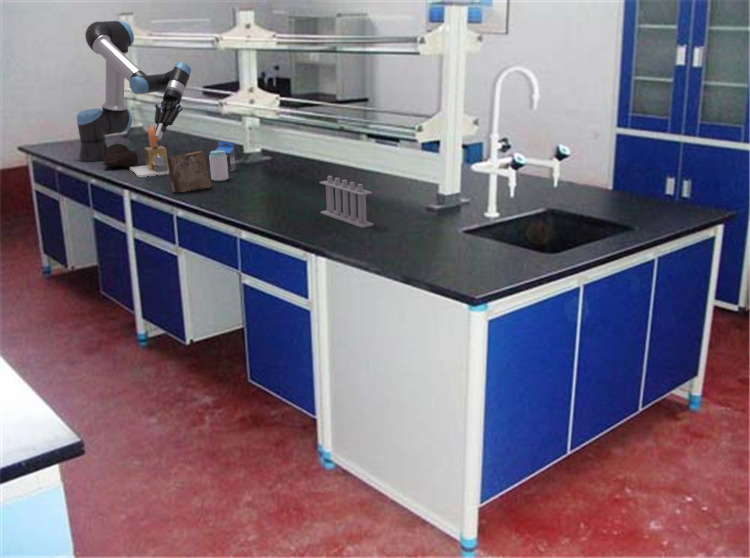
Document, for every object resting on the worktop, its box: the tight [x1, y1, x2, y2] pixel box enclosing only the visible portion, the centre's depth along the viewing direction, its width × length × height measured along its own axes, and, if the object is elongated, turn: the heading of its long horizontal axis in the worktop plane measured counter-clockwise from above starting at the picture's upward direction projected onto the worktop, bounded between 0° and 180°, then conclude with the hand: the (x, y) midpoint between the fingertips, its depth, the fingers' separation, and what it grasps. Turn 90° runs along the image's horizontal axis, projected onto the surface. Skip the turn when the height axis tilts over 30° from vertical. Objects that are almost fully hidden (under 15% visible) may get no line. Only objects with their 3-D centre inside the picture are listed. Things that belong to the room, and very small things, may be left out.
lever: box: [147, 125, 160, 147], centre depth 336 cm, size 17×4×7 cm, turn 14°
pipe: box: [102, 143, 139, 168], centre depth 356 cm, size 10×15×15 cm
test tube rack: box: [318, 175, 374, 229], centre depth 255 cm, size 25×4×13 cm, turn 36°
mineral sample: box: [167, 149, 213, 194], centre depth 304 cm, size 17×4×15 cm, turn 126°
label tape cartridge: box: [215, 141, 237, 173], centre depth 341 cm, size 9×4×12 cm, turn 62°
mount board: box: [129, 164, 170, 178], centre depth 346 cm, size 22×21×1 cm
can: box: [208, 149, 229, 182], centre depth 322 cm, size 7×7×12 cm
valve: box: [143, 142, 168, 172], centre depth 345 cm, size 20×8×12 cm, turn 27°
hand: (157, 137), depth 335 cm, fingers closed
